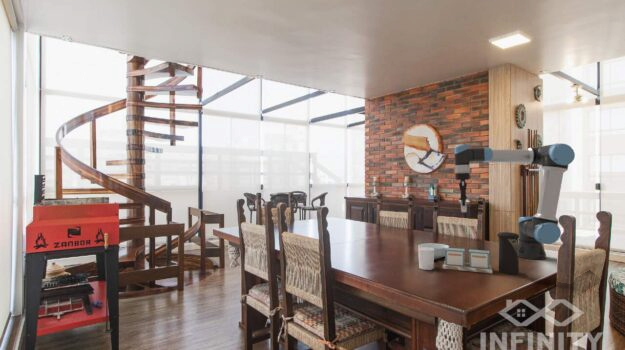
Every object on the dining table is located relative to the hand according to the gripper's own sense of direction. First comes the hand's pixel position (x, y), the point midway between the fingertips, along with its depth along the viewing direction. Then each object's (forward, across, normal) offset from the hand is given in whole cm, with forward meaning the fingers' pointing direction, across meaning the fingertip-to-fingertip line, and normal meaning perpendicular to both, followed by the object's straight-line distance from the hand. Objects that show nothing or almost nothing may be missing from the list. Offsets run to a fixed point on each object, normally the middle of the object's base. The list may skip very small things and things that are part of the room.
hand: (463, 210), depth 194 cm
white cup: (+27, +25, -19) cm, 42 cm away
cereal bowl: (+28, -1, -17) cm, 32 cm away
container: (+28, +22, +18) cm, 40 cm away
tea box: (+26, +22, -5) cm, 34 cm away
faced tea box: (+27, +22, +6) cm, 35 cm away
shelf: (+28, +22, 0) cm, 35 cm away
